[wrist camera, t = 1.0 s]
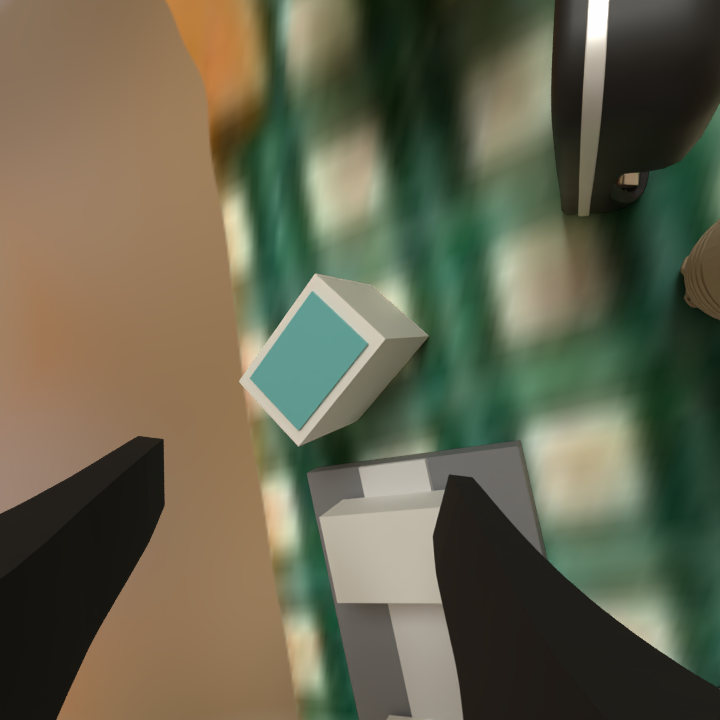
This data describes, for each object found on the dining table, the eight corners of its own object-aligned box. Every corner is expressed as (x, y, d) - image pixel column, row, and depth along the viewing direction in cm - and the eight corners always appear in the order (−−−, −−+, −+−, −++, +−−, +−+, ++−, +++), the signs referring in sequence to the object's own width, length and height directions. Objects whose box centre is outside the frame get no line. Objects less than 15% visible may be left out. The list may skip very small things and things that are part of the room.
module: (429, 336, 24) (384, 338, 18) (357, 420, 26) (296, 447, 20) (372, 285, 25) (313, 272, 19) (307, 370, 27) (236, 381, 21)
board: (609, 831, 22) (615, 933, 18) (386, 791, 26) (356, 866, 23) (520, 440, 22) (510, 462, 19) (317, 467, 27) (277, 489, 23)
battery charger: (662, 217, 19) (765, 89, 9) (560, 223, 21) (547, 119, 11) (675, 35, 19) (800, -325, 8) (570, 55, 20) (565, -229, 10)
